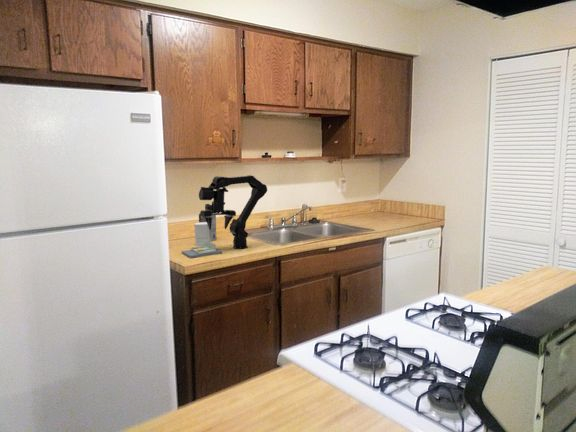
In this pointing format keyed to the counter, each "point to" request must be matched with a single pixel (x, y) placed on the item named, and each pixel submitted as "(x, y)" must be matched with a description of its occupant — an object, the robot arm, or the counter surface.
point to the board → (193, 254)
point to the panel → (206, 247)
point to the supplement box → (201, 233)
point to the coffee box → (213, 226)
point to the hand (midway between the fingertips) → (217, 229)
